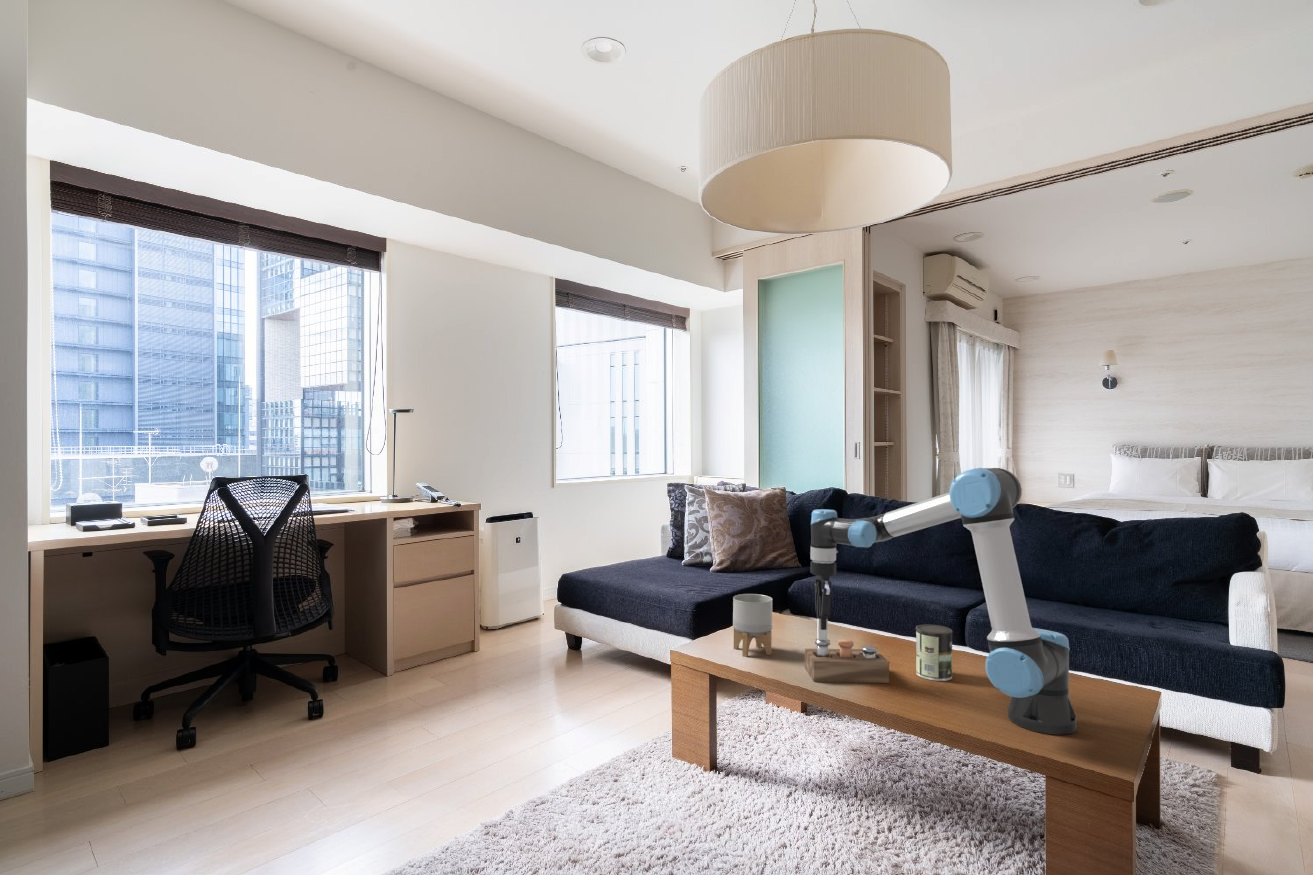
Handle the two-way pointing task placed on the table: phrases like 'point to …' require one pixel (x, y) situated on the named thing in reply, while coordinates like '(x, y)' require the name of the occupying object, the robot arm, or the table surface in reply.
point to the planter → (752, 621)
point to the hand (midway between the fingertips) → (822, 639)
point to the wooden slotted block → (846, 667)
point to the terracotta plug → (845, 648)
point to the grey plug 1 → (822, 647)
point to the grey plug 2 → (868, 651)
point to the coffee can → (934, 652)
